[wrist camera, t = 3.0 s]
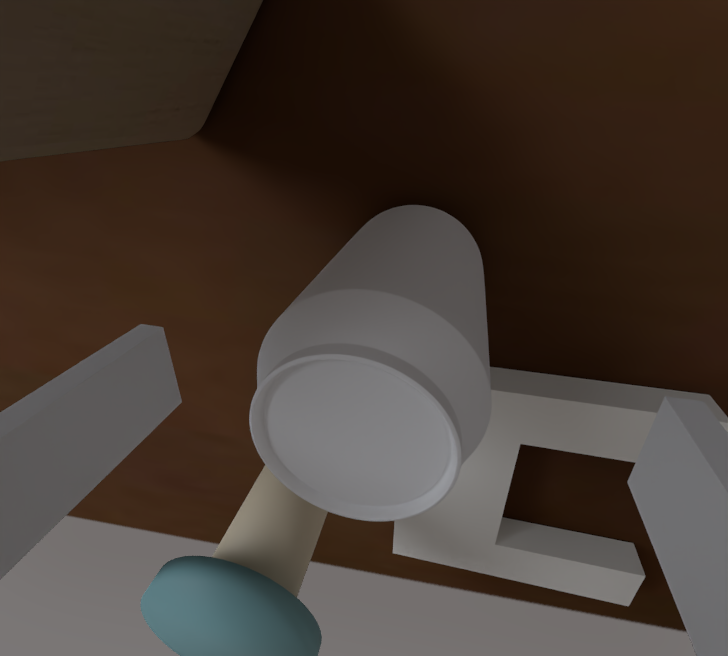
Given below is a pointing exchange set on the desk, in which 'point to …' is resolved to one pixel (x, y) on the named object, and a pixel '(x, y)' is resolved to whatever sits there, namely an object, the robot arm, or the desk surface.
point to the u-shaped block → (494, 473)
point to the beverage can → (379, 371)
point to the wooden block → (112, 70)
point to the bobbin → (243, 583)
